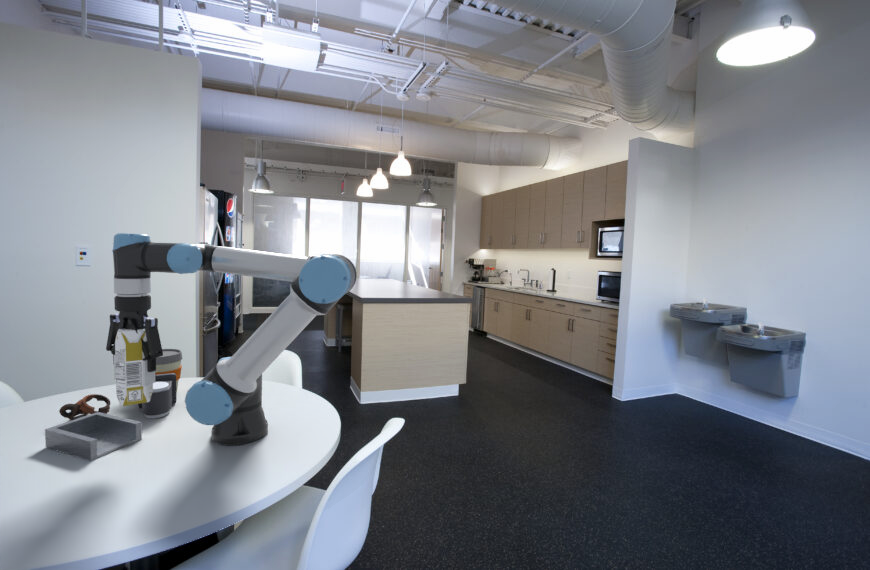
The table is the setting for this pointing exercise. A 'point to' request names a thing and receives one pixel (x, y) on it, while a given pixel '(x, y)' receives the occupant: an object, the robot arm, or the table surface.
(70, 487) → the table surface
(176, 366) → the reusable coffee cup
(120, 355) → the juice carton
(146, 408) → the wireless charger stand
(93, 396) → the brown ring with handle
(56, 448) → the dock
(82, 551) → the table surface
